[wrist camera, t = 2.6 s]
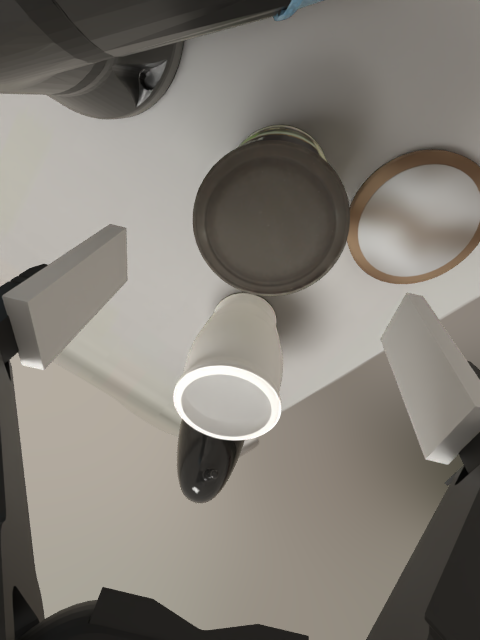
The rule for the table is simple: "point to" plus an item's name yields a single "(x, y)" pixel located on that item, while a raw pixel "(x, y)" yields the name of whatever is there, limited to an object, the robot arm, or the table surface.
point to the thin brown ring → (416, 216)
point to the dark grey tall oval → (204, 463)
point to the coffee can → (272, 214)
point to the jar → (233, 372)
